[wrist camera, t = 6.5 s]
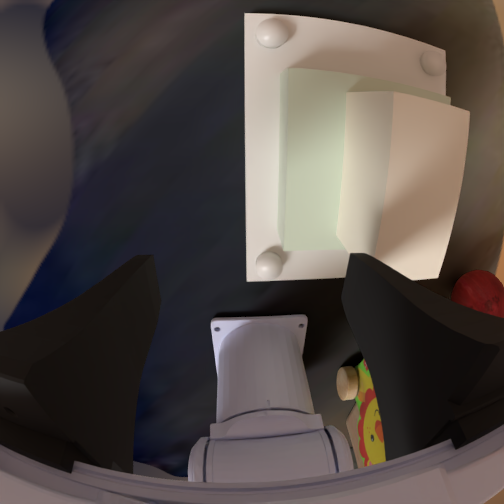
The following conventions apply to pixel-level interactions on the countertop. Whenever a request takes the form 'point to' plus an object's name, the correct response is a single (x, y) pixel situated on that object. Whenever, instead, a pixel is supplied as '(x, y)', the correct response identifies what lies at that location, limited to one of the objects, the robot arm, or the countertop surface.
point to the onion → (480, 292)
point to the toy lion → (363, 411)
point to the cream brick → (401, 179)
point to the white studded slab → (312, 131)
